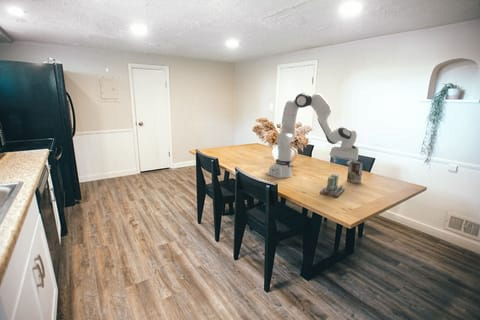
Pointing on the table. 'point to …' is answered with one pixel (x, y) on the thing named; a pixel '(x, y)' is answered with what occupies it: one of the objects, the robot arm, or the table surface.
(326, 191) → the rail base
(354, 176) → the coffee box
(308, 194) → the table surface
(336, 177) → the block
